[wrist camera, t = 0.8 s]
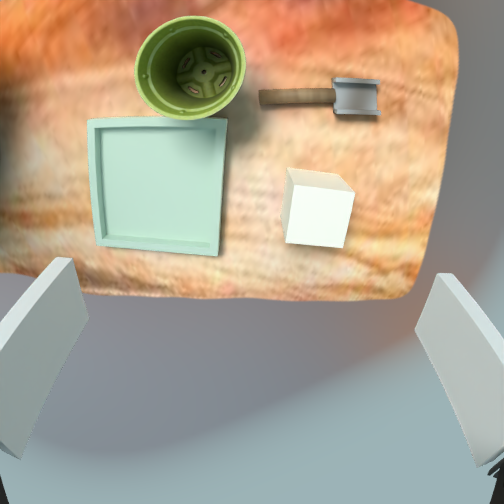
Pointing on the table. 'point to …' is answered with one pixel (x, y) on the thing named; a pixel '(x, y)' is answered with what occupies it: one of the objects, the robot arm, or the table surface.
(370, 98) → the scoop
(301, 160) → the table surface
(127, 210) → the tray
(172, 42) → the plant pot
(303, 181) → the block
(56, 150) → the table surface
